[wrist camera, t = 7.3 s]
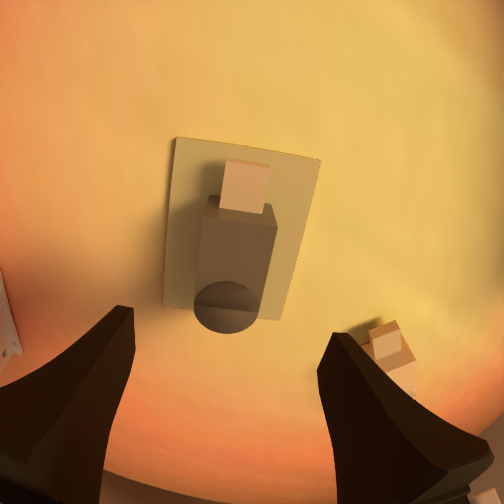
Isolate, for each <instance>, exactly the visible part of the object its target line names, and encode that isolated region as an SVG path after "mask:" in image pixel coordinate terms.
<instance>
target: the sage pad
mask: <svg viewBox="0 0 504 504" xmlns="http://www.w3.org/2000/svg"><path fill="white" fill-rule="evenodd" d="M227 158H232V159H238V160H245V161H251V162H257V163H263V164H269V165H270V167H271V172H270V177H269V182H268V187H267V192H266V198H265V203H268V204H271V205H272V209H273V212H274V215H275V219H276V222H277V225H278V230H277V234H276V239H275V243H274V248H273V252H272V256H271V261H270V265H269V270H268V274H267V279H266V283H265V287H264V292H263V296H262V300H261V305H260V309H259V313H258V316H257V318H259V319H268V320H277V321H280V318H281V315H282V311H283V308H284V304H285V301H286V297H287V293H288V290H289V286H290V282H291V279H292V275H293V271H294V268H295V264H296V260H297V256H298V253H299V249H300V245H301V241H302V237H303V234H304V230H305V226H306V222H307V218H308V214H309V210H310V206H311V202H312V198H313V194H314V189H315V185H316V181H317V177H318V173H319V168H320V164H321V161H320V160H317V159H312V158H307V157H303V156H298V155H293V154H288V153H282V152H277V151H271V150H266V149H260V148H254V147H248V146H242V145H236V144H229V143H222V142H215V141H208V140H200V139H192V138H184V137H177V140H176V147H175V155H174V164H173V172H172V182H171V192H170V202H169V213H168V225H167V239H166V254H165V271H164V294H163V306H169V307H175V308H182V309H189V310H194V295H195V285H196V276H197V266H198V257H199V248H200V240H201V231H202V223H203V216H204V212H205V209H206V205H207V202H208V198H209V195H215V196H221V192H222V185H223V179H224V172H225V166H226V160H227Z"/></svg>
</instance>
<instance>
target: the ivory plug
mask: <svg viewBox="0 0 504 504" xmlns="http://www.w3.org/2000/svg"><path fill="white" fill-rule="evenodd" d="M368 333H369V339H370V343H368V344H365V345H362V346H361V347H362V349H363V350H364V351H365V352H366V353H367V354H368V355H369V356H370V357H371V358H372V360H373V361H374V362H375V363H376V364H377V365H378V366H379V367H380V368H381V369H382V370H383V371H384V372H385V373H386V374H387V375H388V376H389V377H390V378H391V379H392V380H393V381H394V382H395V383H396V384H397V385H398V386H399V387H400V388H401V389H402V390H404V391H405V392H406V393H407V394H408V395H409V396H411V397H412V398H413V399H415V396H416V359H415V357H414V355H413V353H412V351H411V350H410V348H409V346H408V344H407V343H406V341H405V339H404V338H403V336H402V334H401V332H400V328H399V326H398V324H397V323H396V321H395V320H394V321H392V322H389V323H387V324H384V325H382V326H379V327H377V328H374V329H371V330H369V331H368Z"/></svg>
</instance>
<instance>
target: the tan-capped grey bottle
mask: <svg viewBox="0 0 504 504" xmlns="http://www.w3.org/2000/svg"><path fill="white" fill-rule="evenodd" d="M270 172H271V167H270V165H269V164H263V163H257V162H251V161H245V160H238V159H232V158H227V160H226V166H225V172H224V179H223V185H222V192H221V196H215V195H209V198H208V202H207V205H206V209H205V212H204V216H203V223H202V231H201V240H200V248H199V257H198V266H197V276H196V285H195V295H194V313H195V316H196V318H197V319H198V321H199V322H200V323H201V324H202V325H203V326H204V327H206V328H207V329H209V330H211V331H214V332H217V333H223V334H231V333H237V332H240V331H243V330H245V329H246V328H248V327H249V326H251V325H252V324H253V323H254V321H255V320H256V318H257V316H258V313H259V309H260V305H261V300H262V296H263V292H264V287H265V283H266V279H267V274H268V270H269V265H270V261H271V256H272V252H273V248H274V243H275V239H276V234H277V230H278V225H277V222H276V219H275V215H274V212H273V209H272V205H271V204H268V203H265V198H266V192H267V187H268V182H269V177H270Z"/></svg>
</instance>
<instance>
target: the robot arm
mask: <svg viewBox="0 0 504 504" xmlns="http://www.w3.org/2000/svg"><path fill="white" fill-rule="evenodd" d="M135 350H136V348H135V331H134V309H133V308H131V307H126V306H120V305H117V306H115V307H114V308H113V309H112V310H111V311H110V312H109V313H108V314H107V315H105V316H104V317H103V318H102V319H101V320H100V321H99V322H98V323H97V324H96V325H95V326H94V327H92V328H91V329H90V330H89V331H88V332H87V333H86V334H84V335H83V336H82V337H81V338H80V339H79V340H77V341H76V342H75V343H74V344H72V345H71V346H70V347H69V348H67V349H66V350H65V351H64V352H62V353H61V354H60V355H58V356H57V357H56V358H54V359H53V360H51V361H50V362H48V363H47V364H45V365H44V366H42V367H40V368H39V369H37V370H35V371H33V372H32V373H30V374H28V375H26V376H24V377H22V378H20V379H19V380H17V381H14V382H12V383H10V384H8V385H6V386H3V387H1V388H0V504H99V498H100V488H101V481H102V473H103V467H104V460H105V454H106V449H107V444H108V439H109V434H110V430H111V426H112V423H113V420H114V417H115V414H116V411H117V408H118V406H119V403H120V400H121V397H122V394H123V392H124V389H125V386H126V383H127V381H128V378H129V375H130V372H131V367H132V363H133V359H134V355H135ZM14 353H15V354H18V355H21V354H22V353H23V349H22V346H21V343H20V340H19V337H18V334H17V331H16V328H15V324H14V321H13V318H12V314H11V311H10V307H9V303H8V299H7V296H6V291H5V287H4V283H3V279H2V274H1V270H0V375H1V373H2V371H3V370H4V368H5V367H6V365H7V363H8V362H9V360H10V359H11V357H12V356H13V354H14ZM317 377H318V387H319V394H320V398H321V402H322V406H323V410H324V414H325V418H326V422H327V426H328V430H329V434H330V438H331V442H332V447H333V453H334V462H335V471H336V484H337V504H501V503H500V500H499V498H498V495H497V493H496V490H495V489H494V488H492V489H490V490H488V491H486V492H483V493H481V494H479V495H477V496H475V497H473V498H471V499H470V500H468V497H467V494H469V493H470V491H471V490H470V487H469V485H468V484H470V483H471V482H472V481H473V480H475V479H476V478H477V477H478V476H480V475H481V474H482V473H483V472H484V471H485V470H487V469H488V468H489V467H490V465H491V464H492V463H493V461H494V455H493V453H492V451H491V449H490V447H489V445H488V443H487V441H486V440H484V439H481V438H479V437H477V436H474V435H472V434H470V433H467V432H465V431H463V430H461V429H459V428H457V427H455V426H453V425H451V424H450V423H448V422H446V421H445V420H443V419H441V418H440V417H438V416H437V415H435V414H434V413H432V412H431V411H429V410H428V409H426V408H425V407H423V406H422V405H421V404H419V403H418V402H417V401H416V400H414V399H413V398H412V397H411V396H409V395H408V394H407V393H406V392H405V391H404V390H402V389H401V388H400V387H399V386H398V385H397V384H396V383H395V382H394V381H393V380H392V379H391V378H390V377H389V376H388V375H387V374H386V373H385V372H384V371H383V370H382V369H381V368H380V367H379V366H378V365H377V364H376V363H375V362H374V361H373V360H372V358H371V357H370V356H369V355H368V354H367V353H366V352H365V351H364V350H363V349H362V347H361V346H360V345H359V344H358V343H357V342H356V341H355V340H354V339H353V338H352V337H351V336H350V335H349V334H348V333H337V332H333V333H332V336H331V338H330V341H329V343H328V345H327V348H326V350H325V353H324V355H323V357H322V359H321V362H320V364H319V366H318V369H317Z"/></svg>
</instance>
